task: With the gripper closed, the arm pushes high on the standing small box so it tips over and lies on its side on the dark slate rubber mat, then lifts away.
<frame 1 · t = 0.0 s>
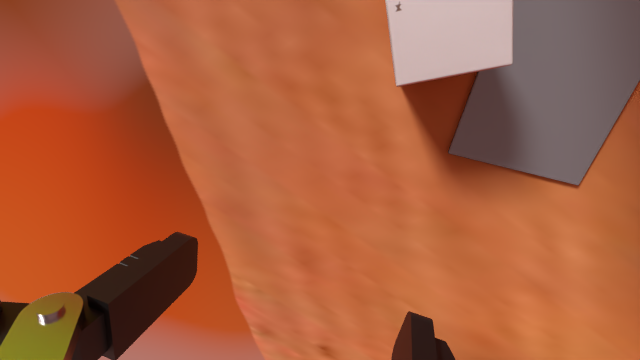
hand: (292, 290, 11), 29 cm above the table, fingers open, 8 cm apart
small box: (431, 44, 33), on the table
slate mat: (556, 67, 30), on the table
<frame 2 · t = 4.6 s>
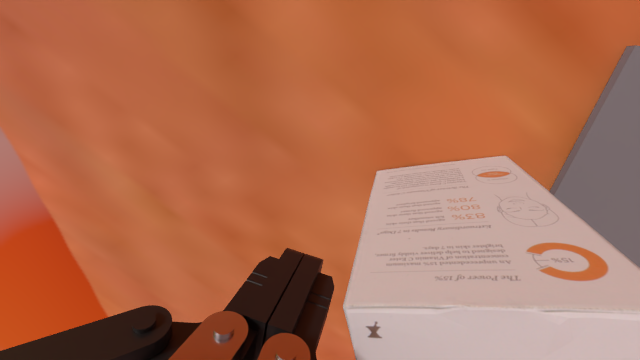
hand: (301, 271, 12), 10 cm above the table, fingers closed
small box: (441, 205, 20), on the table, touching gripper
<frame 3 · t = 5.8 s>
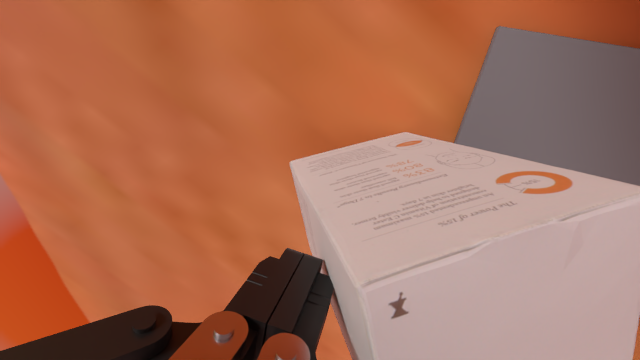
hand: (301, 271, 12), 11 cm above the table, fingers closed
small box: (356, 190, 20), point 2 cm above the table, touching gripper
slate mat: (541, 232, 19), on the table
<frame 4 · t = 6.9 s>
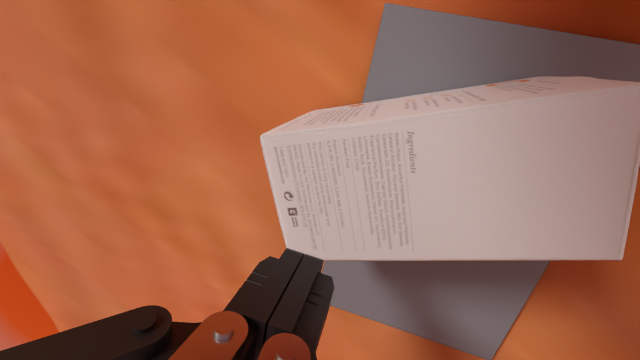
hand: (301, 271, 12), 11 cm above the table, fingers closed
small box: (297, 175, 17), point 5 cm above the table, touching slate mat
slate mat: (444, 206, 20), on the table
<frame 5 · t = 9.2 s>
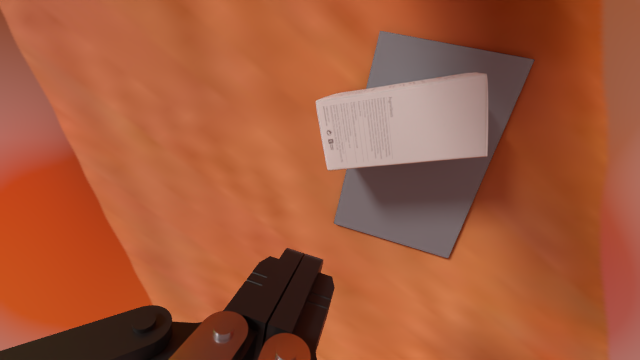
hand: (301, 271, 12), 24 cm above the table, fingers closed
small box: (328, 129, 29), point 5 cm above the table, touching slate mat
slate mat: (417, 153, 33), on the table
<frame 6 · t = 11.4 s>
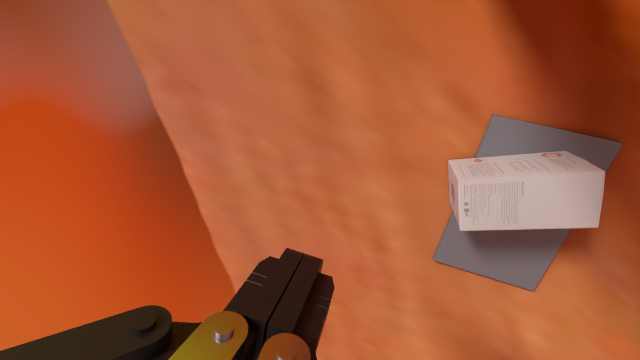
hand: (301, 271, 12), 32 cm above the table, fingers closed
small box: (450, 193, 37), point 5 cm above the table, touching slate mat
slate mat: (513, 208, 40), on the table
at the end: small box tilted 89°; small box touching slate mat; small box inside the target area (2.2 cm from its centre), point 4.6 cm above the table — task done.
